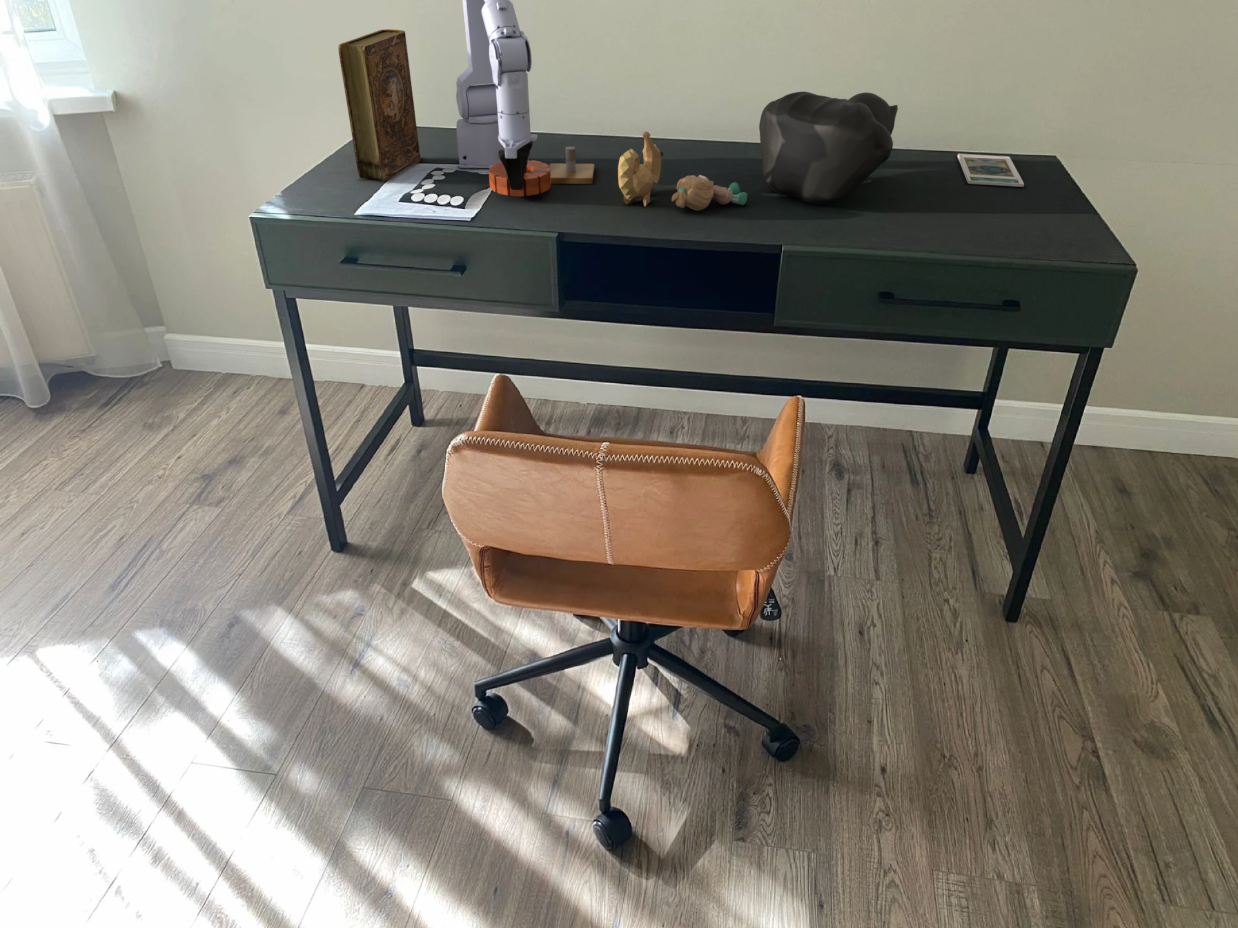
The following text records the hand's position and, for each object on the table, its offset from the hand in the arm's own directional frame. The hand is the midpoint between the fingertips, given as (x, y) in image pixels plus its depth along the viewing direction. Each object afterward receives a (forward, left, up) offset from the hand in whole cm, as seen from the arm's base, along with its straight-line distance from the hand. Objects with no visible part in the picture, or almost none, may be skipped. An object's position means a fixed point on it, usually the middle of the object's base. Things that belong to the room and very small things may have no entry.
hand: (517, 185), depth 170 cm
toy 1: (+23, 0, -3) cm, 23 cm away
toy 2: (+36, -3, -3) cm, 36 cm away
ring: (0, +4, -1) cm, 4 cm away
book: (-28, +17, -3) cm, 33 cm away
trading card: (+95, +20, -3) cm, 97 cm away
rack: (+9, +14, -3) cm, 17 cm away
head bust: (+61, +10, -3) cm, 62 cm away
